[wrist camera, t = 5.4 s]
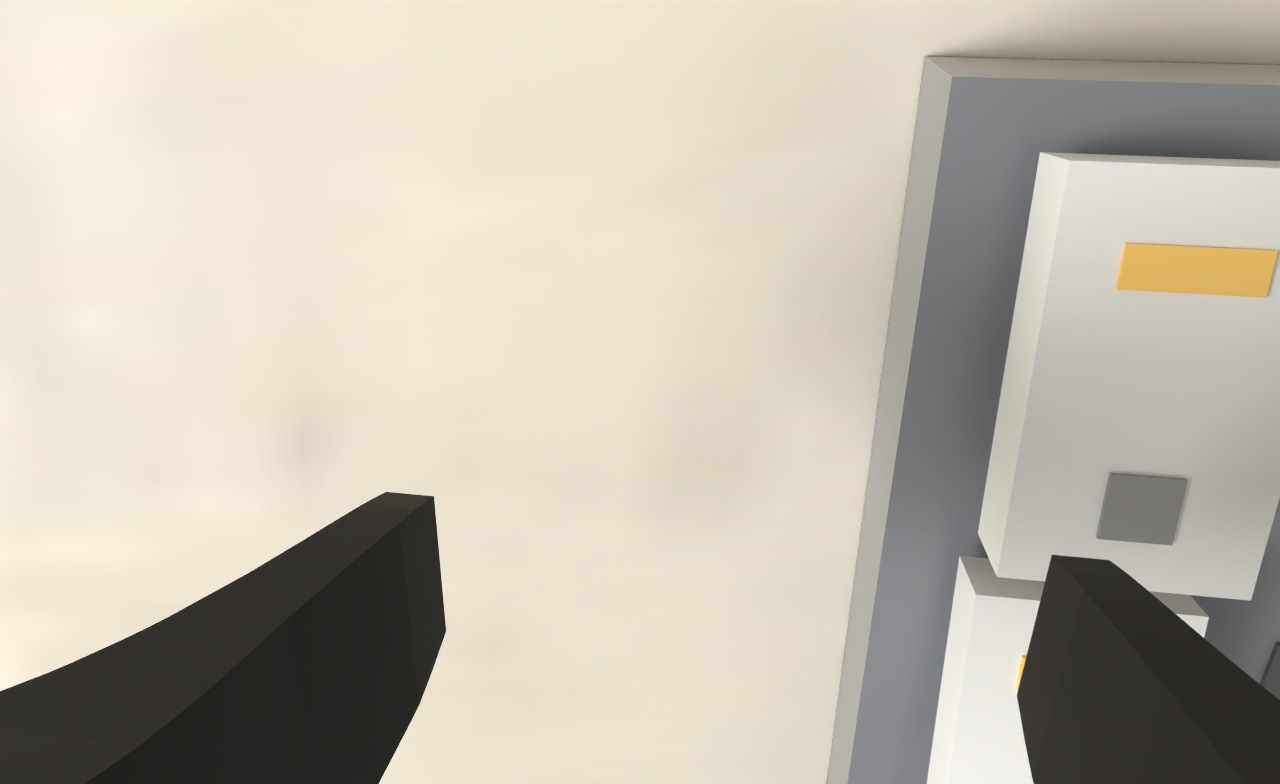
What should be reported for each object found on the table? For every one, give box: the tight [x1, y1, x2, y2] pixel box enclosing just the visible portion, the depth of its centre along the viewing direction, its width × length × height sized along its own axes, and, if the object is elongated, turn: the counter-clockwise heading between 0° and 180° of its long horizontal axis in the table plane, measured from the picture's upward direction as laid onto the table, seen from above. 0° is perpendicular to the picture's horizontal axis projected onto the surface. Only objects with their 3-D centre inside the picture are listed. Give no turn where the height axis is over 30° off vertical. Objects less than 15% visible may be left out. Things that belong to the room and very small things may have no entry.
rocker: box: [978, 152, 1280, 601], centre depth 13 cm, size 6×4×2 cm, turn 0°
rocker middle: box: [927, 556, 1209, 784], centre depth 16 cm, size 6×4×2 cm, turn 0°
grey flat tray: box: [827, 56, 1280, 784], centre depth 19 cm, size 22×10×3 cm, turn 179°
